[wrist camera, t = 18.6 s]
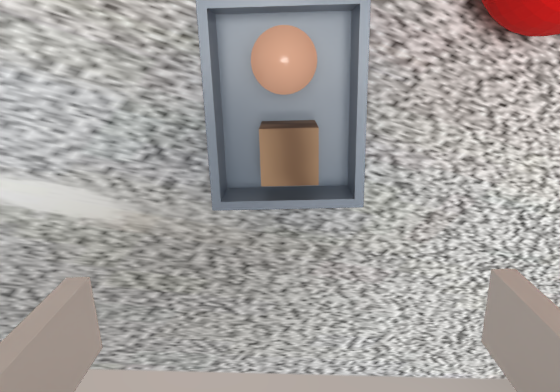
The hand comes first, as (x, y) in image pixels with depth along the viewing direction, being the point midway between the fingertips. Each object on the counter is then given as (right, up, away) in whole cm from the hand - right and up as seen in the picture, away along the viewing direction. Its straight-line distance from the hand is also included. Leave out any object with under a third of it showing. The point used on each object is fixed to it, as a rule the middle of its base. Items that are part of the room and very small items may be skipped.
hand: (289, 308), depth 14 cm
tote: (0, +13, +26) cm, 29 cm away
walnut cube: (+1, +9, +27) cm, 28 cm away
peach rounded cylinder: (0, +16, +24) cm, 29 cm away
